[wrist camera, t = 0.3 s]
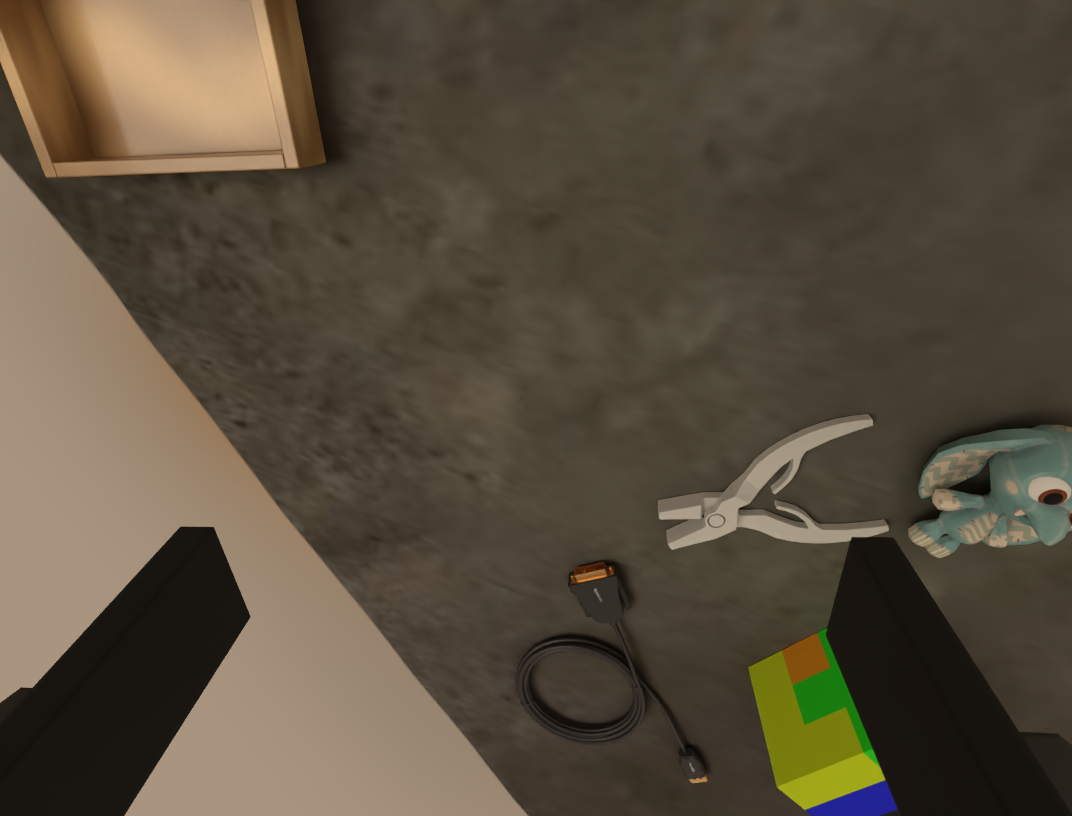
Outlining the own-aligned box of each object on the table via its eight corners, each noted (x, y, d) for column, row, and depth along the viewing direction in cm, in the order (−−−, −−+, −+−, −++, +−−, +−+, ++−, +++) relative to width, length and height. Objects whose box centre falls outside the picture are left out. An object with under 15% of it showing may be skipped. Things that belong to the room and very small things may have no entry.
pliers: (894, 541, 41) (680, 581, 45) (885, 527, 43) (678, 567, 46) (877, 422, 37) (644, 477, 41) (867, 410, 39) (643, 465, 43)
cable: (577, 787, 61) (576, 802, 60) (462, 591, 50) (458, 604, 49) (708, 771, 58) (710, 787, 56) (614, 556, 47) (615, 569, 45)
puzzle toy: (817, 728, 53) (858, 853, 44) (748, 667, 51) (776, 786, 42) (923, 682, 49) (992, 809, 40) (854, 613, 47) (911, 733, 38)
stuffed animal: (878, 554, 37) (1081, 444, 30) (854, 477, 43) (1020, 368, 36) (997, 633, 39) (1215, 548, 32) (959, 550, 45) (1138, 460, 37)
